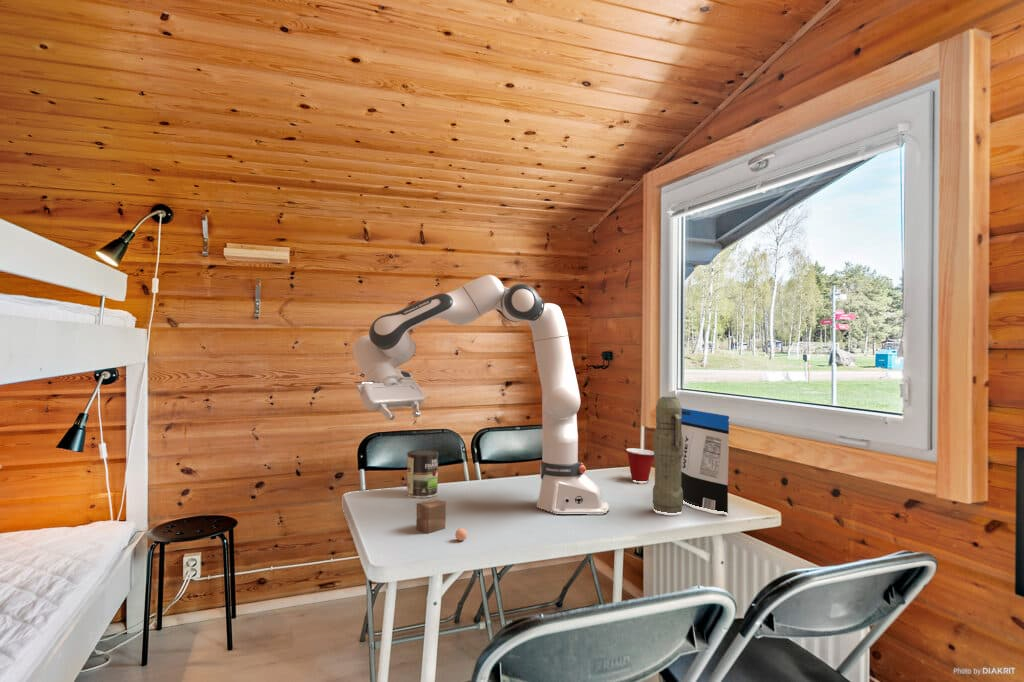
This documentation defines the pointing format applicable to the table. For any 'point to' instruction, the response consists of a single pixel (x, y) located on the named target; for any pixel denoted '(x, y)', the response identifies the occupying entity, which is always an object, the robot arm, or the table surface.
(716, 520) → the table surface
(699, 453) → the protein powder
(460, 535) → the ball
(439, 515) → the wooden toy cube
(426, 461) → the coffee can
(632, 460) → the plastic cup
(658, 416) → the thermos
